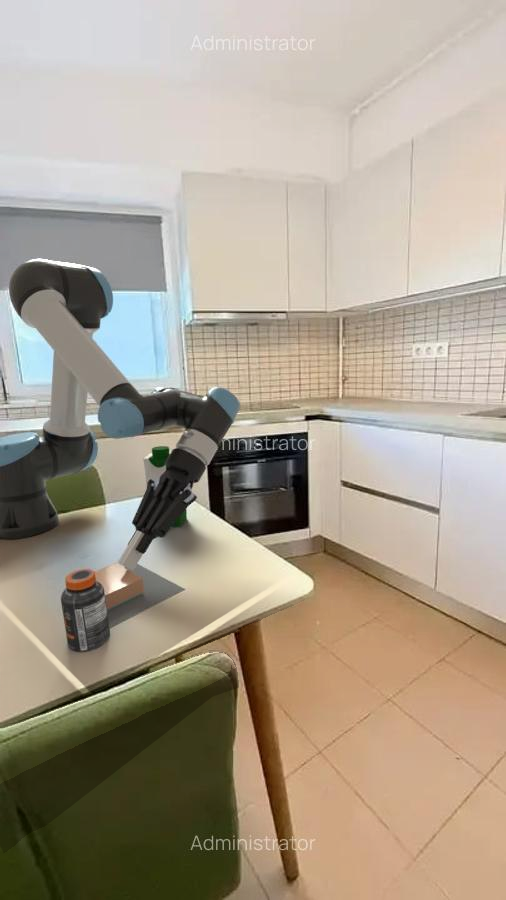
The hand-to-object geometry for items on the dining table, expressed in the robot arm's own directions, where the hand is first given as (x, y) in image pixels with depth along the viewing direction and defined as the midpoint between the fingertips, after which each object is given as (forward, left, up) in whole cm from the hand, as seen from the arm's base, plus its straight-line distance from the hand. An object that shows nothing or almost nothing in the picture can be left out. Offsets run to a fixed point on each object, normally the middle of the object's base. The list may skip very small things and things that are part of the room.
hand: (125, 566), depth 79 cm
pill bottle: (+9, -12, -5) cm, 16 cm away
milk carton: (-20, +24, -5) cm, 32 cm away
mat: (+1, -1, -5) cm, 5 cm away
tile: (0, +1, -2) cm, 3 cm away
